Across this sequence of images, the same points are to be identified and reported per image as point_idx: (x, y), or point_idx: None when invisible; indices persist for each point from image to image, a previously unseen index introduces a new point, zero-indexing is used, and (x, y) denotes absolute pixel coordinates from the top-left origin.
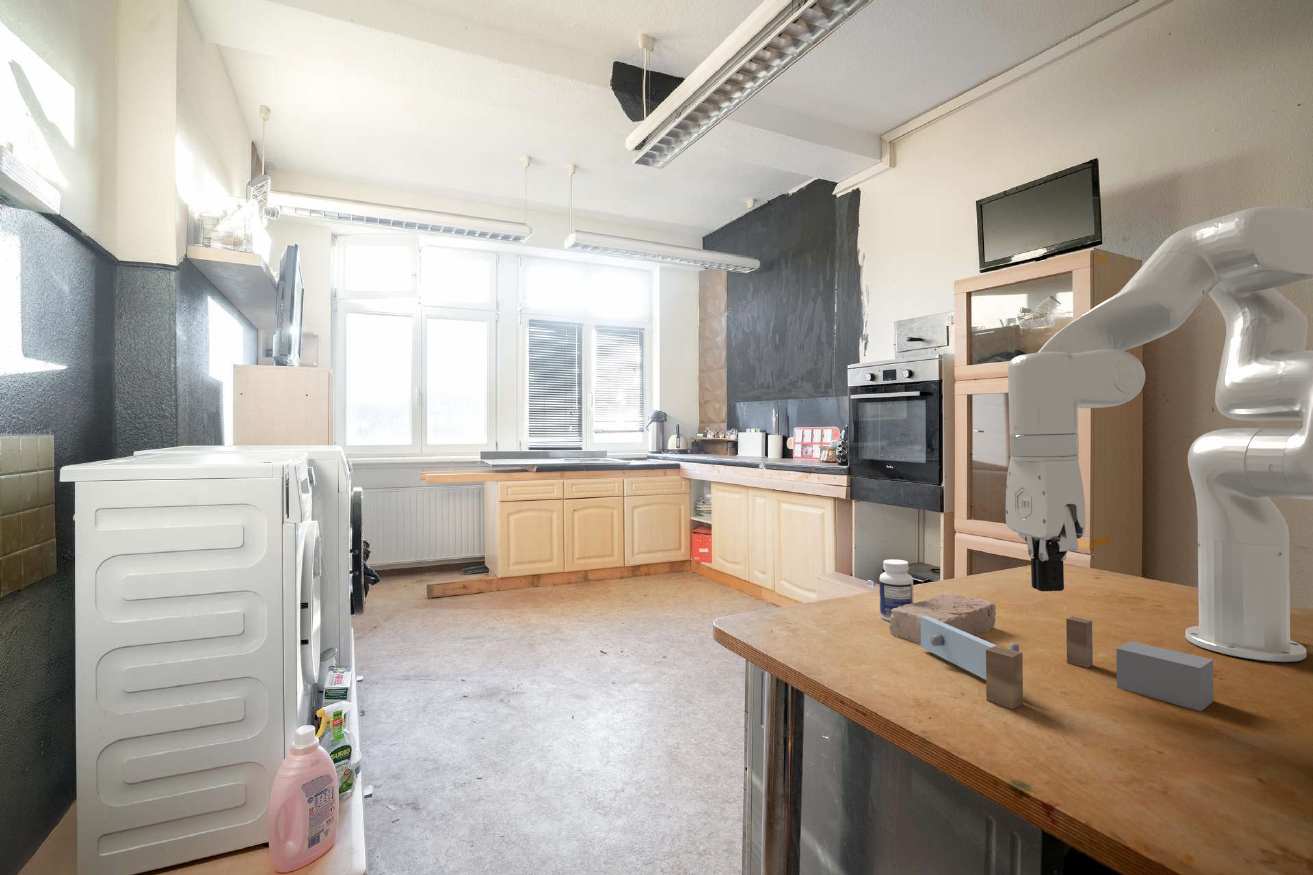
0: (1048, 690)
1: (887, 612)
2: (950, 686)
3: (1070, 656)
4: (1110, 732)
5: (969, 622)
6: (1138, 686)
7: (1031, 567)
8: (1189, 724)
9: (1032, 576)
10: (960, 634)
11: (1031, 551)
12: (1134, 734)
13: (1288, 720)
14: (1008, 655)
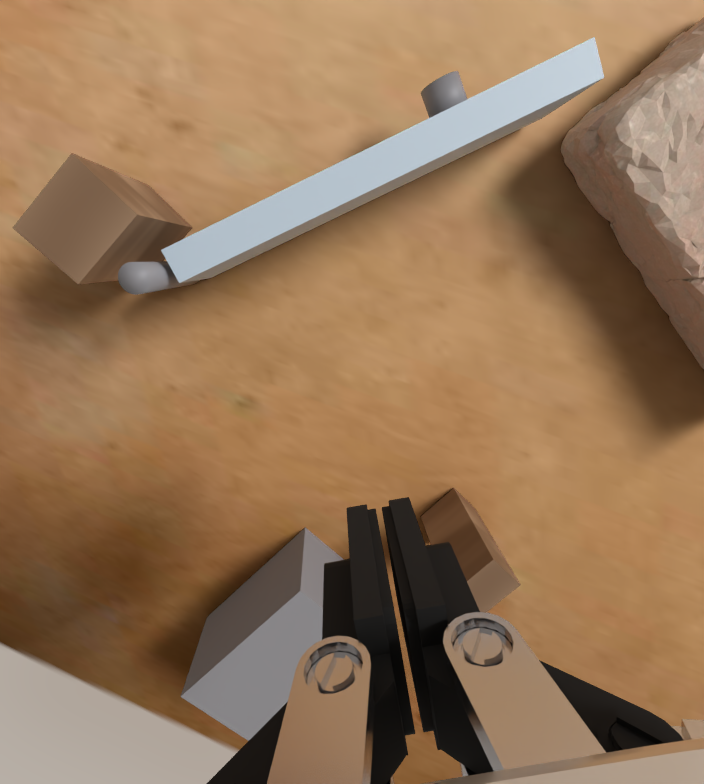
0: (255, 373)
1: None
2: (228, 105)
3: (452, 502)
4: (40, 410)
5: (691, 308)
6: (275, 563)
7: (425, 559)
8: (133, 570)
9: (409, 528)
10: (362, 152)
11: (487, 654)
12: (46, 452)
13: (200, 719)
14: (29, 221)
